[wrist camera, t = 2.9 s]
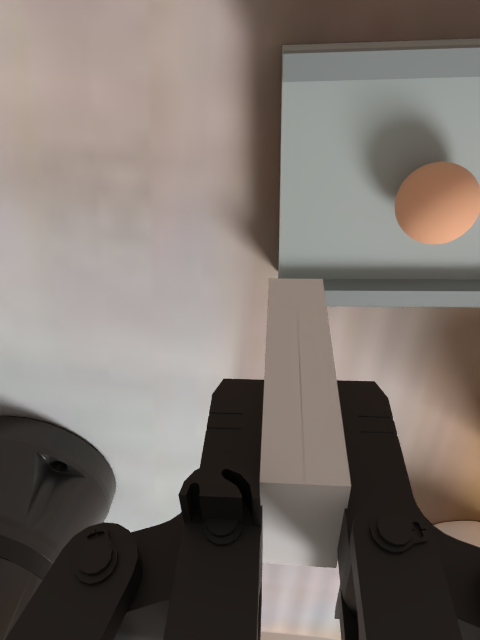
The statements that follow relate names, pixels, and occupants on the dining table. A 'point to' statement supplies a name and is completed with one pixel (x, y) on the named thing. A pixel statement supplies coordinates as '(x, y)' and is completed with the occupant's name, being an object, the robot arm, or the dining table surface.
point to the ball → (438, 203)
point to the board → (375, 167)
